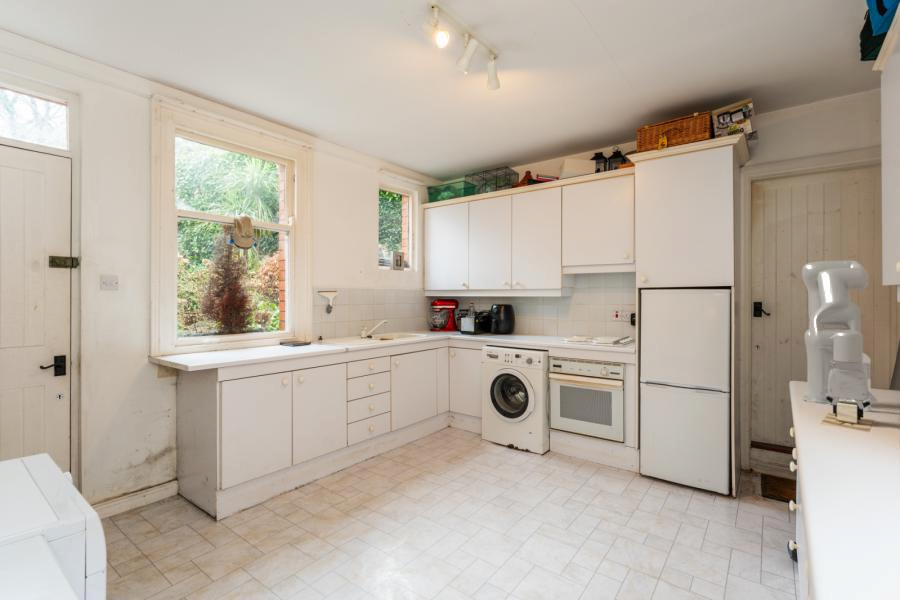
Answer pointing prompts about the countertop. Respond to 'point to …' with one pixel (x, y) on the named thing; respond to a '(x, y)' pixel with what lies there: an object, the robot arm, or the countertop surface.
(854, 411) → the block
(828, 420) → the oak board
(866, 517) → the countertop surface
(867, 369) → the water bottle
